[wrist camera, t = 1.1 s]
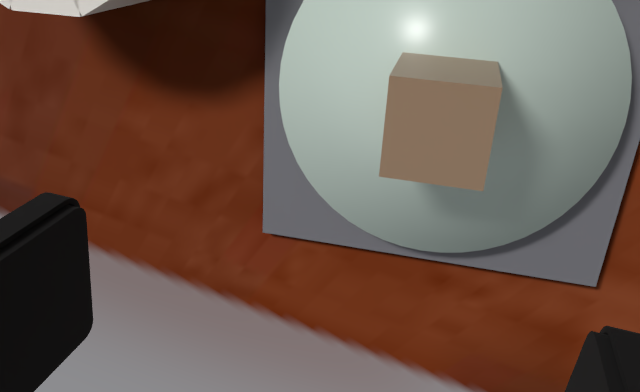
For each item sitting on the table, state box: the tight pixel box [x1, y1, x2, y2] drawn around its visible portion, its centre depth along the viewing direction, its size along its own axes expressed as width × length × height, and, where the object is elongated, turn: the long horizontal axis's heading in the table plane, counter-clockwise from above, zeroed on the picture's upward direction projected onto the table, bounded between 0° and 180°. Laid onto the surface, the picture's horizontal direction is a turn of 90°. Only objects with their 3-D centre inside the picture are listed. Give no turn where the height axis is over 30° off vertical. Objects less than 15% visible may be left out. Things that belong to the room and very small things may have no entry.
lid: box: [279, 0, 632, 253], centre depth 25 cm, size 15×15×6 cm
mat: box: [263, 0, 640, 287], centre depth 27 cm, size 17×17×1 cm
